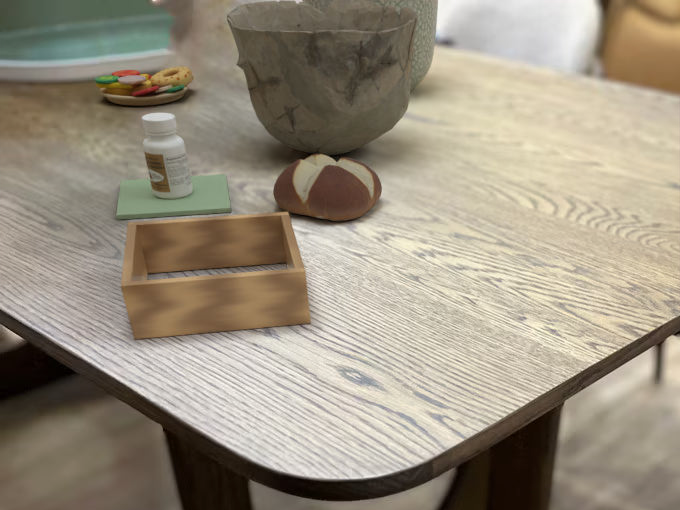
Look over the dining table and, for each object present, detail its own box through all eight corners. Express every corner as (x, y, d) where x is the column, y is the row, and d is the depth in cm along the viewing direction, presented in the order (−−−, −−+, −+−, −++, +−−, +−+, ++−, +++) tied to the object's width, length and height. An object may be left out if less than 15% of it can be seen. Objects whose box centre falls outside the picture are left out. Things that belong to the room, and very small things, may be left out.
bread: (345, 230, 88) (342, 179, 85) (259, 211, 92) (252, 161, 89) (400, 200, 95) (399, 152, 92) (318, 183, 99) (314, 136, 96)
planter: (319, 73, 142) (307, -70, 129) (442, 76, 141) (443, -68, 128) (298, 104, 126) (282, -56, 114) (436, 107, 126) (436, -53, 113)
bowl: (449, 145, 112) (450, 8, 101) (346, 188, 98) (336, 36, 88) (321, 119, 120) (311, -9, 110) (211, 156, 107) (187, 13, 97)
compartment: (134, 339, 69) (120, 286, 66) (139, 271, 80) (127, 222, 77) (311, 323, 72) (305, 271, 69) (293, 259, 82) (288, 211, 79)
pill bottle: (146, 192, 95) (129, 115, 89) (181, 184, 97) (166, 109, 92) (165, 202, 92) (149, 124, 87) (200, 194, 95) (186, 117, 89)
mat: (117, 220, 90) (115, 215, 89) (121, 184, 98) (120, 180, 98) (231, 212, 92) (230, 207, 91) (226, 178, 100) (225, 174, 100)
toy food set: (203, 89, 133) (199, 65, 130) (174, 110, 123) (170, 84, 121) (122, 85, 134) (116, 61, 131) (87, 106, 124) (80, 81, 122)
